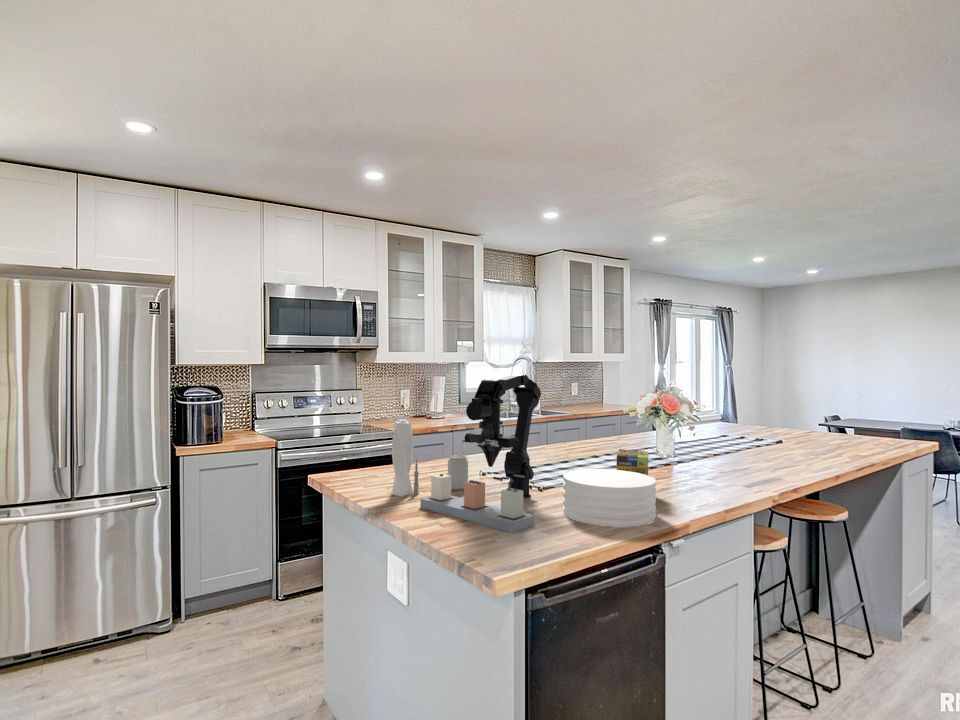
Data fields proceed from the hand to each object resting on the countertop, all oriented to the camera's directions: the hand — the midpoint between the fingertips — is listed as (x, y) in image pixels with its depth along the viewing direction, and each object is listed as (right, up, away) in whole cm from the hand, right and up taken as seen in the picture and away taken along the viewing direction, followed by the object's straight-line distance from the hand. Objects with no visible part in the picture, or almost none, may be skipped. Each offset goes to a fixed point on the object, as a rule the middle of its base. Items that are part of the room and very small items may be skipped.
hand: (490, 466), depth 175 cm
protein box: (+50, -14, +16) cm, 55 cm away
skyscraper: (-30, -13, +15) cm, 37 cm away
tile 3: (-5, -10, -11) cm, 15 cm away
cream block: (-16, -10, -1) cm, 19 cm away
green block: (+6, -10, -20) cm, 23 cm away
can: (-12, -13, +26) cm, 31 cm away
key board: (-5, -13, -11) cm, 17 cm away
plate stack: (+37, -14, -6) cm, 39 cm away
